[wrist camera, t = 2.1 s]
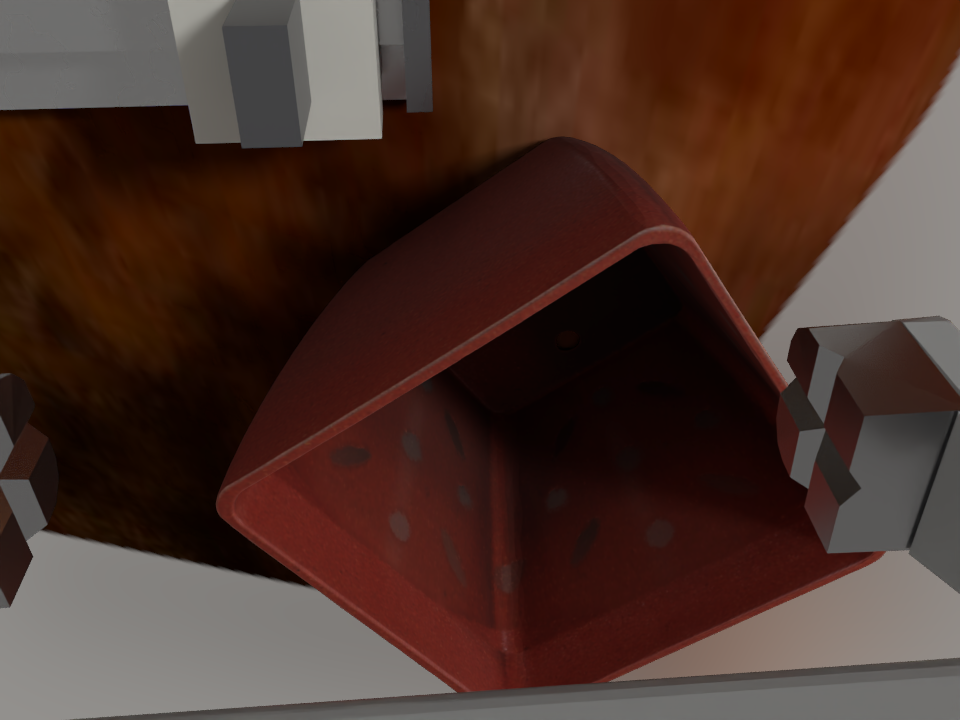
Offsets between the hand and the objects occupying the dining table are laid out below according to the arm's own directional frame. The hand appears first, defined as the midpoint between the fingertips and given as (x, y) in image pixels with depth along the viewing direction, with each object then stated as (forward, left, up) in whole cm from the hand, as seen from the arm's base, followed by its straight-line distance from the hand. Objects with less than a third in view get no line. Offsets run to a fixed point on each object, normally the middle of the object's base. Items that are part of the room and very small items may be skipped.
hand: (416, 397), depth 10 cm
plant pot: (+19, +5, -33) cm, 38 cm away
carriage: (+4, -5, -31) cm, 31 cm away
